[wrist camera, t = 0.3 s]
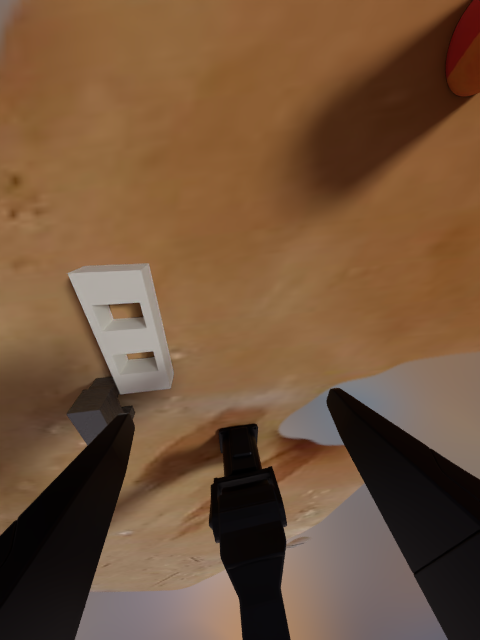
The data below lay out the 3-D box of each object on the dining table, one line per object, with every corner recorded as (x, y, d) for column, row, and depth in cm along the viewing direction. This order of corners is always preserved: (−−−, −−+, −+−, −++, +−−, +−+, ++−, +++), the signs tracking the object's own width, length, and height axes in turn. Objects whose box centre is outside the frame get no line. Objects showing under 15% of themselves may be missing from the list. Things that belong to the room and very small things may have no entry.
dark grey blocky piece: (136, 414, 28) (123, 453, 23) (114, 417, 27) (96, 457, 23) (119, 372, 24) (99, 409, 19) (93, 375, 24) (66, 414, 19)
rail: (173, 373, 25) (170, 388, 23) (128, 378, 24) (120, 394, 22) (148, 263, 18) (140, 269, 16) (84, 265, 18) (67, 273, 16)
